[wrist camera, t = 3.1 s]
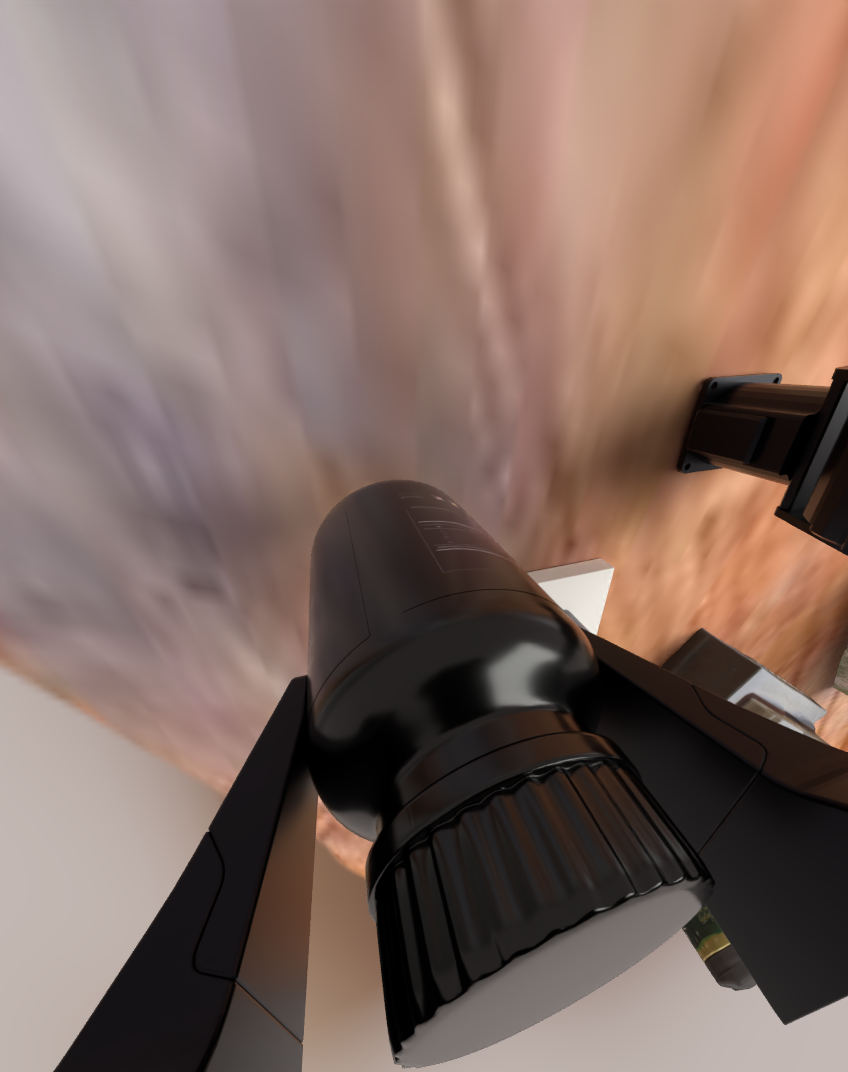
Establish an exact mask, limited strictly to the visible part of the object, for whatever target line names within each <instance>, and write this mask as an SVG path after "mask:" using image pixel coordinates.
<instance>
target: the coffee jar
mask: <svg viewBox="0 0 848 1072" xmlns="http://www.w3.org/2000/svg"><path fill="white" fill-rule="evenodd" d="M682 929H683V931H684V932H685V933H686V935H687V937H688V938H689V940H690V941H691V943H692V945H693V946H694V948H695V949H696V951H697V952H698V954H699V956H700V957H701V959H702V960H703V962H704V963H705V965H706V966H707V968H708V969H709V971H710V972H711V974H712V975H713V977H714V978H715V980H716V981H717V983H718V984H719V985H720V986H723V987H727V988H732V989H733V990H735V991H737V990H744V989H750V988H752V987H754V986H755V985H756V982H755V981H754V979H753V978H752V976H751V975H750V973H749V972H748V970H747V968H746V967H745V965H744V964H743V962H742V961H741V959H740V958H739V956H738V955H737V953H736V952H735V950H734V948H733V947H732V945H731V944H730V942H729V941H728V939H727V938H726V936H725V935H724V933H723V932H722V930H721V928H720V927H719V925H718V924H717V922H716V921H715V919H714V918H713V916H712V915H711V913H710V912H709V910H708V908H707V907H706V905H704V906H703V907H702V908H701V909H700V910H699V911H698V912H697V913H696V915H695V916H694V917H693V918H692V919H691V920H690V921H689V922H688V923H687V924H686V925H684V926H683V927H682Z"/></svg>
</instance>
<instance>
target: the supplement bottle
mask: <svg viewBox="0 0 848 1072" xmlns="http://www.w3.org/2000/svg"><path fill="white" fill-rule="evenodd" d="M602 708H603V682H602V676H601V671H600V667H599V663H598V660H597V657H596V654H595V652H594V650H593V647H592V645H591V643H590V642H589V640H588V638H587V637H586V635H585V634H584V632H583V631H582V630H581V629H580V628H579V627H578V625H577V624H576V623H575V622H574V621H573V620H572V619H571V618H570V616H569V615H568V614H567V613H566V612H565V611H564V610H563V609H562V608H561V607H560V606H559V605H558V604H557V603H556V602H555V601H554V600H553V599H552V598H551V597H550V596H549V595H548V594H547V593H546V592H545V591H544V590H543V589H542V588H541V587H540V586H539V585H538V584H537V583H536V582H535V581H534V580H533V579H532V578H531V577H530V576H529V575H528V574H527V573H526V572H525V571H524V570H523V569H522V568H521V567H520V566H519V565H518V564H517V563H516V562H515V561H514V560H513V559H512V558H511V557H510V556H509V555H508V554H507V553H506V552H505V551H504V550H503V549H502V548H501V547H500V546H499V544H498V543H497V542H496V541H495V540H494V539H493V538H492V537H491V536H490V535H489V534H488V533H487V532H486V531H485V530H484V529H483V528H482V527H481V526H480V525H479V524H478V523H477V522H476V521H475V520H474V519H473V518H472V517H471V516H470V515H469V514H468V513H467V512H466V511H465V510H464V509H463V508H461V507H460V506H459V505H458V504H457V503H456V502H455V501H454V500H453V499H452V498H450V497H449V496H448V495H446V494H445V493H443V492H442V491H440V490H439V489H437V488H435V487H433V486H430V485H428V484H424V483H421V482H416V481H410V480H390V481H383V482H378V483H374V484H371V485H368V486H366V487H363V488H361V489H359V490H357V491H355V492H353V493H352V494H350V495H349V496H347V497H346V498H344V499H343V500H342V501H341V502H339V503H338V504H337V505H336V506H335V507H334V508H333V509H332V510H331V512H330V513H329V514H328V515H327V516H326V518H325V519H324V521H323V522H322V524H321V526H320V528H319V530H318V532H317V534H316V537H315V540H314V544H313V548H312V555H311V568H310V602H309V640H308V677H307V716H306V727H307V734H306V742H307V744H306V749H307V762H308V768H309V772H310V776H311V779H312V782H313V784H314V787H315V789H316V791H317V793H318V795H319V796H320V798H321V800H322V802H323V803H324V805H325V806H326V808H327V809H328V810H329V812H330V813H331V814H332V815H333V816H334V818H335V819H336V820H337V821H338V822H340V823H341V824H342V825H343V826H344V827H345V828H347V829H348V830H349V831H351V832H353V833H354V834H356V835H358V836H359V837H362V838H364V839H366V840H368V841H371V842H374V843H373V845H372V847H371V849H370V851H369V854H368V857H367V861H366V868H365V873H366V888H367V902H368V909H369V913H370V915H371V917H372V919H373V920H374V921H375V922H376V926H377V935H378V945H379V955H380V964H381V973H382V983H383V992H384V1002H385V1011H386V1019H387V1027H388V1035H389V1042H390V1047H391V1051H392V1056H393V1060H394V1063H395V1064H397V1065H402V1068H411V1067H416V1068H421V1067H425V1066H430V1065H435V1064H439V1063H443V1062H447V1061H450V1060H453V1059H457V1058H459V1057H462V1056H465V1055H468V1054H470V1053H473V1052H476V1051H478V1050H481V1049H484V1048H486V1047H488V1046H491V1045H493V1044H495V1043H498V1042H500V1041H502V1040H504V1039H506V1038H509V1037H511V1036H513V1035H515V1034H517V1033H519V1032H521V1031H523V1030H525V1029H527V1028H529V1027H531V1026H533V1025H534V1024H537V1023H539V1022H540V1021H542V1020H544V1019H546V1018H548V1017H550V1016H552V1015H553V1014H555V1013H557V1012H559V1011H561V1010H562V1009H564V1008H566V1007H568V1006H570V1005H571V1004H573V1003H575V1002H576V1001H578V1000H580V999H581V998H583V997H585V996H587V995H588V994H590V993H592V992H593V991H595V990H596V989H598V988H600V987H601V986H603V985H605V984H606V983H607V982H609V981H611V980H612V979H614V978H615V977H617V976H618V975H620V974H622V973H623V972H625V971H626V970H628V969H629V968H630V967H632V966H633V965H635V964H636V963H638V962H639V961H640V960H642V959H643V958H645V957H646V956H647V955H649V954H650V953H651V952H653V951H654V950H655V949H657V948H658V947H659V946H660V945H662V944H663V943H664V942H666V941H667V940H668V939H669V938H671V937H672V936H673V935H674V934H675V933H677V932H678V931H679V930H680V929H681V928H682V927H683V926H684V925H686V924H687V923H688V922H689V921H690V920H691V919H692V918H693V917H694V916H695V915H696V913H697V912H698V911H699V910H700V909H701V908H702V907H703V906H704V905H705V903H706V901H707V900H708V899H709V897H710V896H711V895H712V893H713V891H712V889H713V887H714V886H715V884H716V883H715V881H714V879H713V877H712V875H711V874H710V872H709V870H708V869H707V867H706V865H705V864H704V862H703V861H702V859H701V858H700V856H699V855H698V853H697V852H696V851H695V849H694V848H693V847H692V846H691V844H690V843H689V842H688V840H687V839H686V838H685V836H684V835H683V834H682V833H681V831H680V830H679V829H678V827H677V826H676V825H675V824H674V822H673V821H672V820H671V818H670V817H669V816H668V815H667V813H666V812H665V811H664V809H663V808H662V807H661V805H660V804H659V803H658V802H657V800H656V799H655V798H654V797H653V795H652V794H651V793H650V791H649V790H648V789H647V788H646V786H645V785H644V784H643V783H642V778H641V775H640V773H639V771H638V770H637V768H636V767H635V765H634V764H633V763H632V762H631V760H630V759H629V758H628V757H627V755H626V754H625V753H624V752H623V750H622V749H621V748H620V747H619V746H618V745H617V744H616V743H615V742H614V741H613V740H611V739H610V738H608V737H606V736H603V735H600V734H597V733H596V732H597V729H598V725H599V722H600V718H601V713H602Z"/></svg>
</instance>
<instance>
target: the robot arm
mask: <svg viewBox="0 0 848 1072" xmlns="http://www.w3.org/2000/svg"><path fill="white" fill-rule="evenodd" d="M832 379H833V382H832V384H831V386H830V387H825V386H808V385H790V384H780V382H781V380H782V375H781V374H779V373H768V374H754V375H739V376H724V377H711V378H708V379H707V380H706V381H705V382H704V384H703V387H702V390H701V393H700V396H699V399H698V402H697V405H696V409H695V412H694V415H693V418H692V421H691V424H690V427H689V431H688V434H687V437H686V440H685V443H684V446H683V450H682V453H681V456H680V459H679V462H678V465H677V471H678V472H681V473H691V472H698V471H705V470H712V469H719V468H726V469H730V470H733V471H737V472H741V473H744V474H748V475H752V476H755V477H759V478H763V479H766V480H770V481H774V482H777V483H781V484H785V485H788V487H787V490H786V492H785V494H784V497H783V499H782V501H781V504H780V506H778V507H777V508H776V511H775V513H774V515H775V516H777V517H779V518H781V519H782V520H784V521H786V522H787V523H789V524H791V525H793V526H794V527H796V528H798V529H800V530H802V531H804V532H805V533H807V534H809V535H811V536H813V537H814V538H816V539H818V540H820V541H822V542H823V543H825V544H827V545H829V546H831V547H833V548H834V549H836V550H838V551H840V552H842V553H843V554H845V555H848V366H844V367H839V368H836V369H835V371H834V374H833V376H832ZM578 627H579V626H578ZM579 628H580V629H581V630H582V631H583V632H584V634H585V635H586V637H587V638H588V640H589V642H590V643H591V645H592V647H593V650H594V652H595V654H596V657H597V660H598V663H599V667H600V671H601V676H602V682H603V708H602V713H601V718H600V722H599V725H598V729H597V732H596V733H597V734H600V735H603V736H606V737H608V738H610V739H611V740H613V741H614V742H615V743H616V744H617V745H618V746H619V747H620V748H621V749H622V750H623V752H624V753H625V754H626V755H627V757H628V758H629V759H630V760H631V762H632V763H633V764H634V765H635V767H636V768H637V770H638V771H639V773H640V775H641V778H642V783H643V784H644V785H645V786H646V788H647V789H648V790H649V791H650V793H651V794H652V795H653V797H654V798H655V799H656V800H657V802H658V803H659V804H660V805H661V807H662V808H663V809H664V811H665V812H666V813H667V815H668V816H669V817H670V818H671V820H672V821H673V822H674V824H675V825H676V826H677V827H678V829H679V830H680V831H681V833H682V834H683V835H684V836H685V838H686V839H687V840H688V842H689V843H690V844H691V846H692V847H693V848H694V849H695V851H696V852H697V853H698V855H699V856H700V858H701V859H702V861H703V862H704V864H705V865H706V867H707V869H708V870H709V872H710V874H711V875H712V877H713V879H714V881H715V883H716V884H715V886H714V887H713V889H712V891H713V893H712V895H711V896H710V897H709V899H708V900H707V901H706V903H705V905H706V907H707V908H708V910H709V912H710V913H711V915H712V916H713V918H714V919H715V921H716V922H717V924H718V925H719V927H720V928H721V930H722V932H723V933H724V935H725V936H726V938H727V939H728V941H729V942H730V944H731V945H732V947H733V948H734V950H735V952H736V953H737V955H738V956H739V958H740V959H741V961H742V962H743V964H744V965H745V967H746V968H747V970H748V972H749V973H750V975H751V976H752V978H753V979H754V981H755V982H756V984H757V985H758V987H759V988H760V990H761V992H762V993H763V995H764V996H765V998H766V999H767V1001H768V1002H769V1004H770V1005H771V1007H772V1008H773V1010H774V1011H775V1013H776V1014H777V1016H778V1017H779V1018H780V1020H781V1021H782V1022H783V1024H784V1025H787V1024H789V1023H791V1022H793V1021H795V1020H797V1019H800V1018H802V1017H804V1016H806V1015H808V1014H810V1013H813V1012H815V1011H817V1010H819V1009H821V1008H823V1007H825V1006H828V1005H830V1004H832V1003H834V1002H836V1001H839V1000H841V999H843V998H845V997H847V996H848V752H845V751H842V750H839V749H837V748H834V747H832V746H830V745H827V744H825V743H822V742H820V741H818V740H816V739H813V738H811V737H809V736H806V735H804V734H802V733H799V732H797V731H795V730H793V729H790V728H788V727H786V726H783V725H781V724H779V723H776V722H774V721H772V720H770V719H767V718H765V717H763V716H760V715H758V714H756V713H754V712H752V711H749V710H747V709H745V708H743V707H740V706H738V705H736V704H734V703H732V702H730V701H728V700H726V699H723V698H721V697H719V696H717V695H715V694H713V693H711V692H709V691H707V690H705V689H703V688H701V687H699V686H697V685H695V684H691V683H690V682H689V681H687V680H685V679H683V678H681V677H679V676H677V675H675V674H673V673H671V672H669V671H667V670H665V669H663V668H661V667H659V666H657V665H655V664H653V663H651V662H649V661H647V660H645V659H643V658H641V657H639V656H637V655H635V654H633V653H631V652H629V651H627V650H625V649H623V648H621V647H619V646H617V645H615V644H613V643H611V642H609V641H607V640H605V639H603V638H601V637H599V636H597V635H595V634H593V633H591V632H589V631H587V630H585V629H583V628H581V627H579ZM307 677H308V675H304V676H300V677H296V678H293V679H292V680H291V682H290V684H289V685H288V687H287V689H286V691H285V693H284V694H283V696H282V698H281V700H280V701H279V703H278V705H277V707H276V709H275V710H274V712H273V714H272V716H271V717H270V719H269V721H268V723H267V725H266V726H265V728H264V730H263V732H262V734H261V735H260V737H259V739H258V741H257V742H256V744H255V746H254V748H253V750H252V751H251V753H250V755H249V757H248V758H247V760H246V762H245V764H244V766H243V767H242V769H241V771H240V773H239V775H238V776H237V778H236V780H235V782H234V783H233V785H232V787H231V789H230V791H229V792H228V794H227V796H226V798H225V799H224V801H223V803H222V805H221V807H220V808H219V810H218V812H217V814H216V816H215V817H214V819H213V821H212V823H211V825H210V826H209V832H206V833H205V835H204V837H203V838H202V840H201V842H200V844H199V846H198V848H197V849H196V851H195V853H194V854H193V857H192V858H191V860H190V861H189V863H188V865H187V866H186V868H185V870H184V872H183V873H182V875H181V877H180V878H179V880H178V882H177V884H176V885H175V887H174V889H173V890H172V892H171V893H170V895H169V897H168V898H167V900H166V901H165V903H164V904H163V906H162V908H161V909H160V911H159V912H158V914H157V915H156V917H155V919H154V920H153V922H152V923H151V925H150V926H149V928H148V930H147V931H146V933H145V934H144V936H143V937H142V939H141V940H140V942H139V943H138V945H137V946H136V948H135V949H134V951H133V953H132V954H131V956H130V957H129V959H128V960H127V962H126V963H125V965H124V966H123V968H122V969H121V971H120V972H119V974H118V976H117V977H116V978H115V980H114V981H113V983H112V984H111V986H110V988H109V989H108V990H107V992H106V994H105V995H104V997H103V998H102V1000H101V1001H100V1003H99V1004H98V1006H97V1007H96V1009H95V1010H94V1012H93V1013H92V1015H91V1016H90V1018H89V1020H88V1021H87V1022H86V1024H85V1026H84V1027H83V1029H82V1030H81V1032H80V1033H79V1035H78V1036H77V1038H76V1039H75V1041H74V1042H73V1044H72V1045H71V1047H70V1048H69V1050H68V1051H67V1053H66V1054H65V1056H64V1057H63V1059H62V1060H61V1062H60V1063H59V1065H58V1066H57V1067H56V1069H55V1070H54V1071H53V1072H301V1071H302V1053H303V1044H302V1042H303V1035H304V1019H305V1002H306V984H307V969H308V952H309V936H310V919H311V901H312V886H313V870H314V853H315V837H316V820H317V803H318V793H317V791H316V789H315V787H314V784H313V782H312V779H311V776H310V772H309V768H308V762H307V749H306V744H307V742H306V734H307V727H306V716H307Z"/></svg>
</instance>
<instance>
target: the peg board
mask: <svg viewBox="0 0 848 1072" xmlns="http://www.w3.org/2000/svg"><path fill="white" fill-rule="evenodd" d="M613 571H614V567H613V566H611V565H610V564H609V563H607V562H606V561H604V560H603V559H601V558H599V559H594V560H589V561H584V562H579V563H574V564H569V565H564V566H559V567H554V568H548V569H543V570H538V571H533V572H528V573H527V574H528V575H529V576H530V577H531V578H532V579H533V580H534V581H535V582H536V583H537V584H538V585H539V586H540V587H541V588H542V589H543V590H544V591H545V592H546V593H547V594H548V595H549V596H550V597H551V598H552V599H553V600H554V601H555V602H556V603H557V604H558V605H559V606H560V607H561V608H562V609H563V610H564V611H565V612H566V613H567V614H568V615H569V616H570V618H571V619H572V620H573V621H574V622H575V623H576V624H577V625H578V626H579V627H581V628H583V629H585V630H587V631H589V632H591V633H593V634H595V635H597V631H598V627H599V624H600V620H601V616H602V612H603V609H604V605H605V601H606V598H607V594H608V590H609V586H610V583H611V579H612V575H613Z"/></svg>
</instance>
